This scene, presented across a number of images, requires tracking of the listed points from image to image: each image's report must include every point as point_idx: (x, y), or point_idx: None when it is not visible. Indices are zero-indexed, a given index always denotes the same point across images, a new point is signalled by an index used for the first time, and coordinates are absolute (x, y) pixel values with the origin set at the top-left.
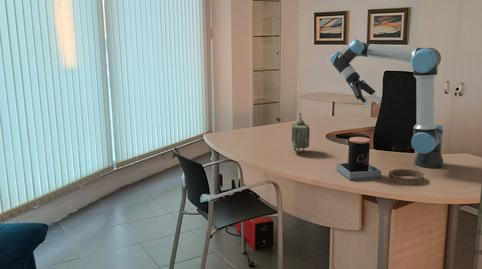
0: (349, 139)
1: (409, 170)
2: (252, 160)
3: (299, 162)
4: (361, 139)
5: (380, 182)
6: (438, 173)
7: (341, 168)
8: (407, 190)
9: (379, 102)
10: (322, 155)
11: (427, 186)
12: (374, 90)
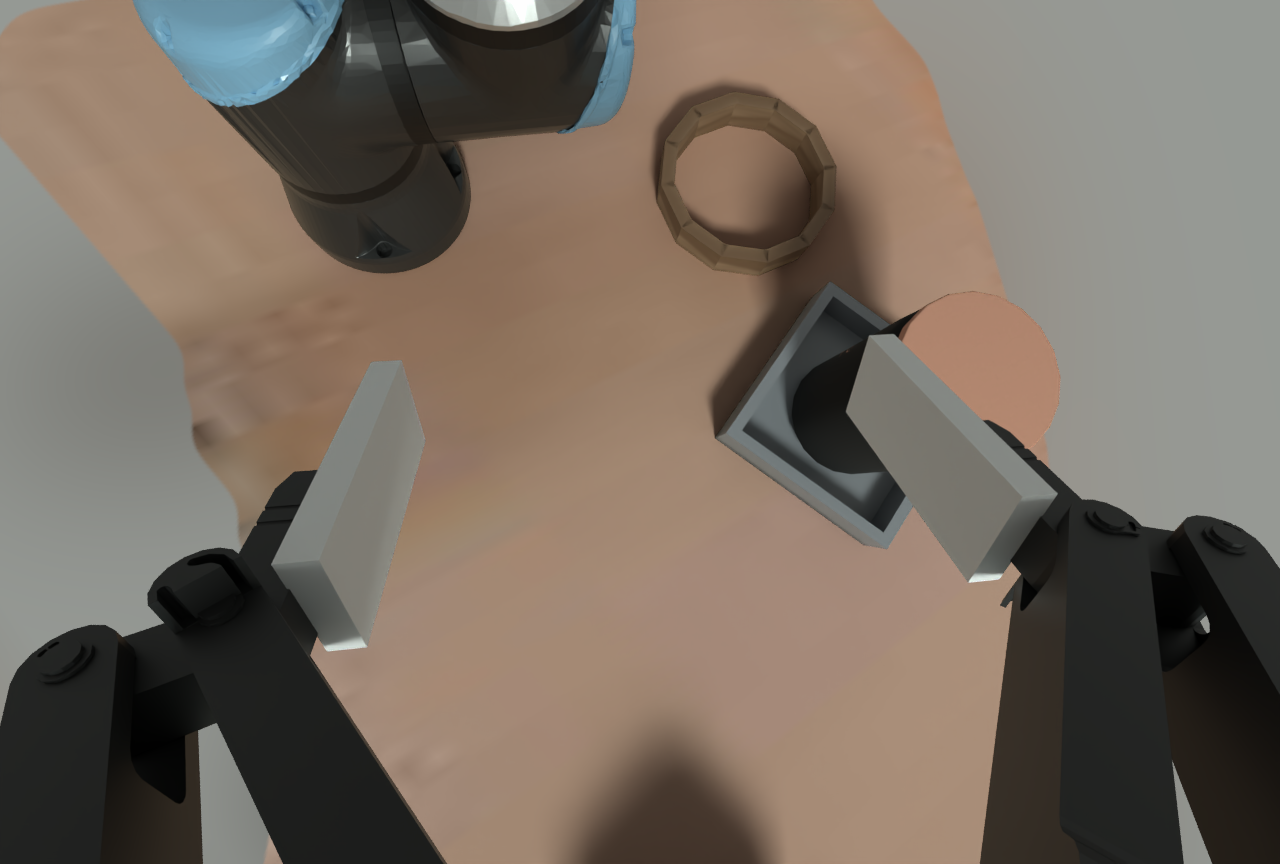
0: (1039, 438)
1: (675, 187)
2: None
3: (885, 824)
4: (977, 358)
5: (869, 269)
6: None
7: None
8: (881, 130)
9: (408, 398)
10: (647, 819)
11: (767, 79)
12: (156, 604)
